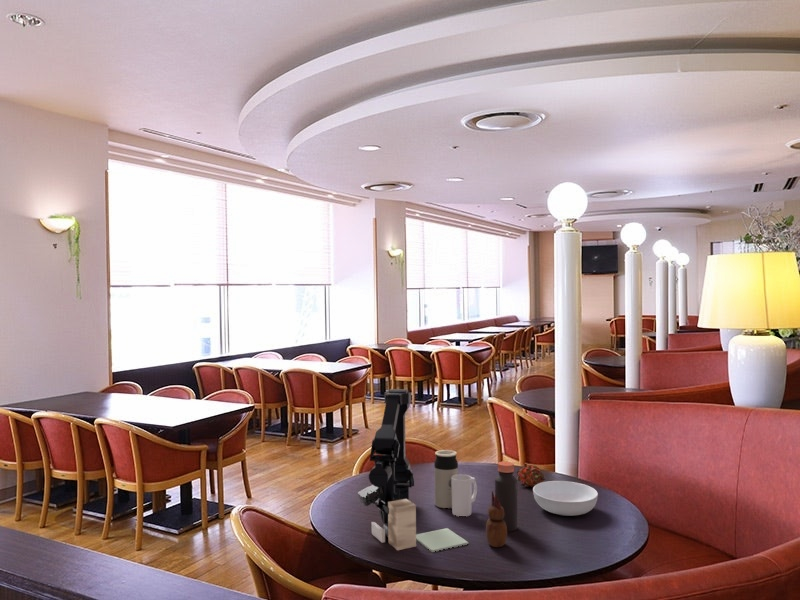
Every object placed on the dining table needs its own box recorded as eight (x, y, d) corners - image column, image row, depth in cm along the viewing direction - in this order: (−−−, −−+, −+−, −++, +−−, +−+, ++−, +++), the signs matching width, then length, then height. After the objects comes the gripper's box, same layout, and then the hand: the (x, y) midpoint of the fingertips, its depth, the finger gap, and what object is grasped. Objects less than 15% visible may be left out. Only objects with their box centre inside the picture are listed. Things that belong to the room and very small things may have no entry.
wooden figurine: (484, 540, 183) (483, 489, 183) (503, 539, 183) (503, 489, 183) (489, 550, 176) (488, 497, 176) (509, 549, 177) (509, 496, 176)
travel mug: (430, 503, 215) (430, 451, 215) (451, 499, 218) (450, 448, 218) (441, 510, 208) (440, 456, 207) (462, 507, 211) (461, 454, 210)
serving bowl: (520, 511, 206) (520, 491, 206) (552, 496, 221) (552, 476, 221) (579, 528, 192) (579, 505, 192) (609, 510, 207) (609, 489, 207)
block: (388, 542, 182) (388, 501, 182) (406, 538, 185) (406, 498, 184) (397, 550, 177) (397, 508, 176) (416, 546, 179) (415, 504, 179)
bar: (383, 533, 189) (383, 523, 189) (392, 531, 190) (392, 521, 190) (393, 541, 183) (393, 531, 183) (402, 539, 184) (402, 529, 184)
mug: (460, 518, 200) (460, 481, 200) (447, 512, 206) (447, 476, 205) (483, 512, 206) (483, 476, 206) (470, 506, 211) (469, 471, 211)
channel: (371, 533, 188) (371, 522, 188) (399, 528, 193) (399, 516, 193) (381, 542, 182) (381, 530, 182) (410, 536, 186) (410, 525, 186)
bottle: (499, 533, 188) (499, 467, 188) (492, 524, 195) (491, 461, 195) (520, 531, 190) (520, 465, 189) (512, 522, 196) (512, 459, 196)
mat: (412, 537, 186) (412, 535, 186) (447, 529, 191) (447, 528, 191) (432, 552, 175) (432, 550, 175) (468, 544, 180) (468, 542, 180)
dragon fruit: (543, 495, 227) (518, 491, 236) (553, 477, 231) (529, 474, 241) (532, 478, 224) (507, 475, 234) (542, 461, 229) (518, 459, 238)
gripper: (349, 471, 195) (350, 521, 195) (373, 489, 178) (374, 543, 179) (381, 467, 200) (382, 515, 200) (408, 483, 183) (408, 536, 184)
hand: (385, 527), depth 191 cm, fingers closed
